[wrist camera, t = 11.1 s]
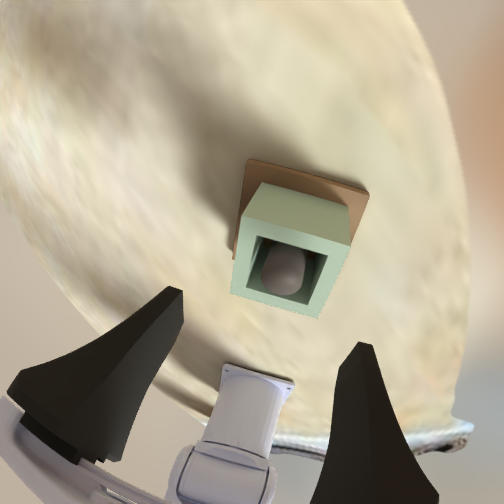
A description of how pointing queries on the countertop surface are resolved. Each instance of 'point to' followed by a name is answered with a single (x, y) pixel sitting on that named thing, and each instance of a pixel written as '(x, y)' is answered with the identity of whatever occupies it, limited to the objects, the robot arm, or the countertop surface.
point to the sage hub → (294, 233)
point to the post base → (303, 187)
